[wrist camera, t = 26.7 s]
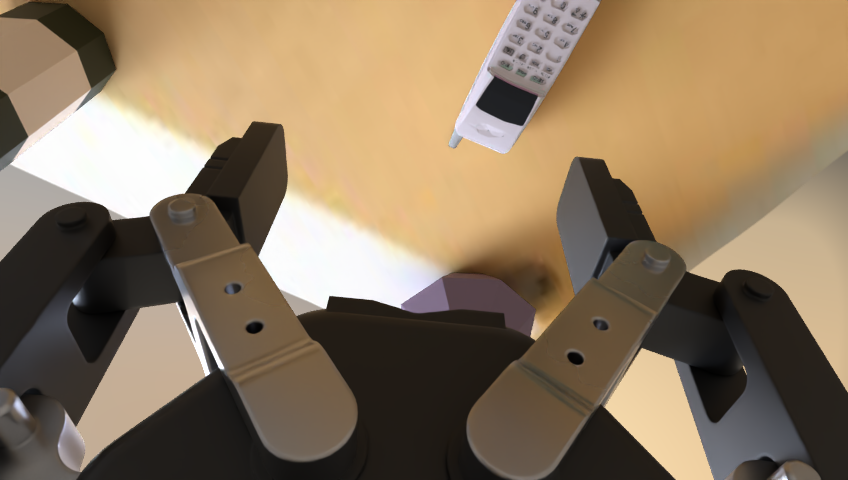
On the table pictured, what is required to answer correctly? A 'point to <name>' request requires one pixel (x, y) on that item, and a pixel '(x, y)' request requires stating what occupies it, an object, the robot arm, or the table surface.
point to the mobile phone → (521, 70)
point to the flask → (474, 299)
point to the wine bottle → (46, 71)
